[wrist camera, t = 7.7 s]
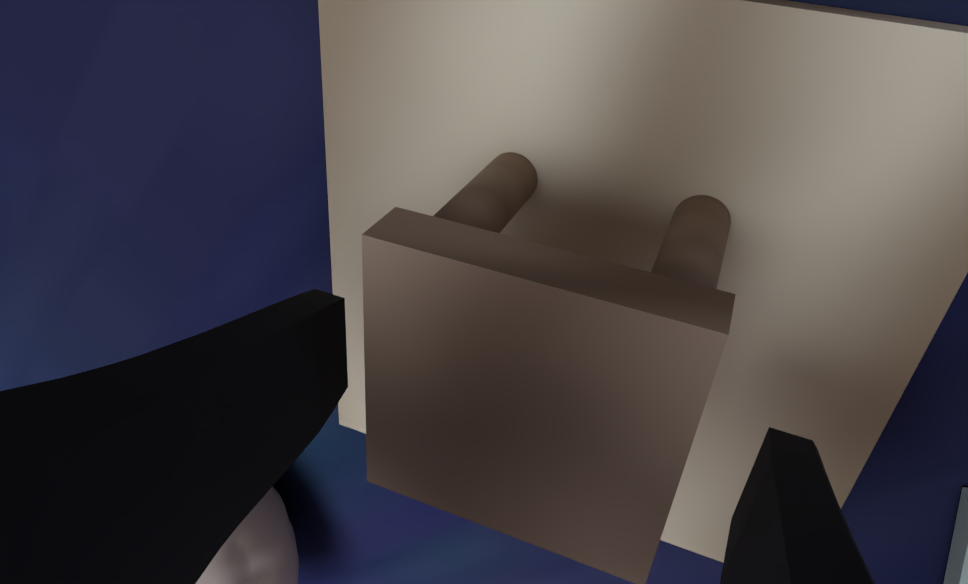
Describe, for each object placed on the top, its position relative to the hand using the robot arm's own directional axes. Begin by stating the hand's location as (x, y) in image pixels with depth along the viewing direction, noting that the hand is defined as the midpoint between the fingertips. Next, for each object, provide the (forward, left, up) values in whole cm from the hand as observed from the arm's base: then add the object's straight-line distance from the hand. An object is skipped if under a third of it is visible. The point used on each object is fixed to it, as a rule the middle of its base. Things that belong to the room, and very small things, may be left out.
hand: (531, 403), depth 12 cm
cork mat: (0, 0, -4) cm, 4 cm away
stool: (0, 0, -3) cm, 3 cm away
